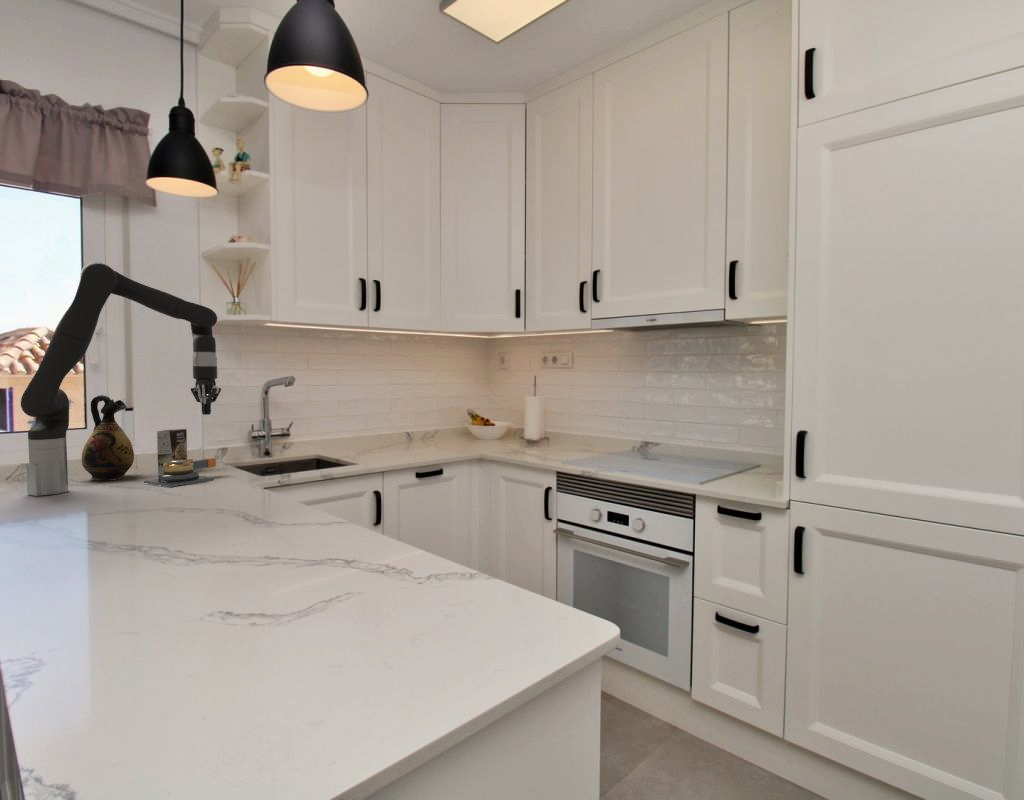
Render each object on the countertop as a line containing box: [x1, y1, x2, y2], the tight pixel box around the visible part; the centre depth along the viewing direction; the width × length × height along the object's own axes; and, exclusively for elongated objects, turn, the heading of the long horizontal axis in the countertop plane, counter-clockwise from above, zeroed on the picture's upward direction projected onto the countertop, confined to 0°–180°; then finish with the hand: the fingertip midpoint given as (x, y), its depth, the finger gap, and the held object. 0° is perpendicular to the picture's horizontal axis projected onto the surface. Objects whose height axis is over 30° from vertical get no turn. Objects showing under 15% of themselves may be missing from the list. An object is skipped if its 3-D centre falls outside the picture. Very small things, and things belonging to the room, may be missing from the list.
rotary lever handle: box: [163, 457, 217, 475], centre depth 198 cm, size 18×9×4 cm, turn 154°
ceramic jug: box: [81, 394, 135, 482], centre depth 201 cm, size 17×15×30 cm
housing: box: [143, 460, 214, 488], centre depth 194 cm, size 15×15×7 cm
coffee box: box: [156, 428, 188, 474], centre depth 216 cm, size 9×6×16 cm
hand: (206, 414), depth 198 cm, fingers closed
